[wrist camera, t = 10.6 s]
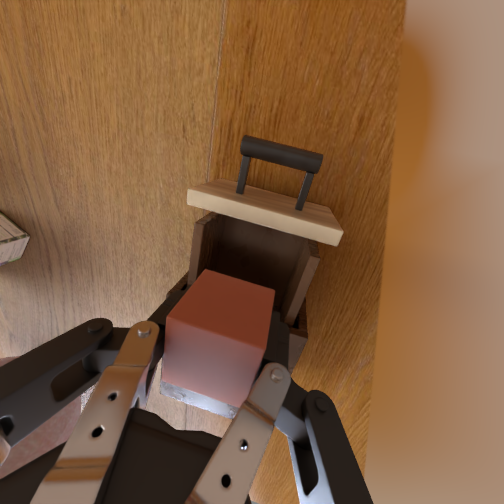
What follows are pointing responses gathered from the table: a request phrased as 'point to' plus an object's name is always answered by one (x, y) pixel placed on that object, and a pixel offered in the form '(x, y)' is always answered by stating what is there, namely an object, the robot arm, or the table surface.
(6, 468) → the plant pot
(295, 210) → the drawer
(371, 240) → the table surface
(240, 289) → the block
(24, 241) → the syrup box
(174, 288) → the cabinet
